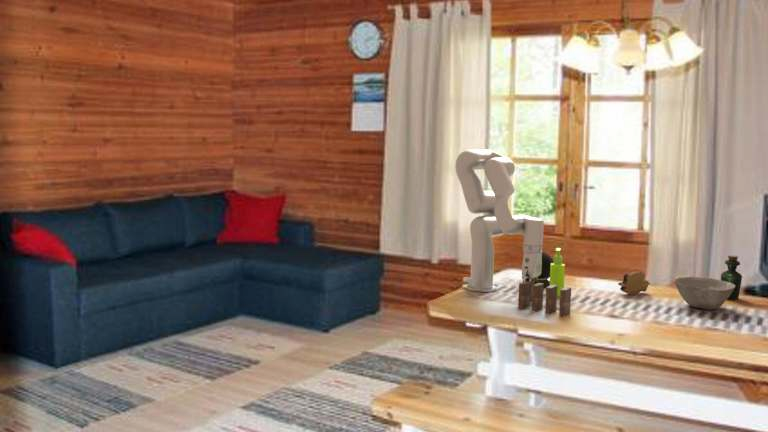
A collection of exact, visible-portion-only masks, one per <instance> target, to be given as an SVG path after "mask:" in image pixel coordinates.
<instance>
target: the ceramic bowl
mask: <svg viewBox="0 0 768 432" xmlns="http://www.w3.org/2000/svg"><path fill="white" fill-rule="evenodd" d="M673 282H674V285H675V287H676V289H677V291H678V293H679V295H680V296H681V298H682V300H684V301H685V302H686V304H687V305H689V306H691V307H692V308H698V309H702V310H706V311H708V310H709V311H712V310H713V311H714V310H717V309H720V308H721V307H722V306H723V305H724V304H725V302H726V301H727V300H728V298H729V296H730V295H731V293H732V291H733V290H734V288H735V285H734V284H732V283H729V282H726V281H721V279H716V278H712V277H711V278H710V277H708V278H707V277H698V276H682V277H678V278H674V279H673Z"/></svg>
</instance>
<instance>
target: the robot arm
mask: <svg viewBox="0 0 768 432" xmlns="http://www.w3.org/2000/svg"><path fill="white" fill-rule="evenodd" d="M515 167H516V166H515V164H514V161H512V160H511V158H509V157H507V156H504V155H502V154H500V153H498V152H495V151H493V150H491V149H467V150H464V151H462V152H461V153H460V154H459V155H458V156H457V158H456V161H455V173H456V176H457V178H458V181H459V184H460V186H461V189H462V193H463V196H464V200H465V203H466V208H467V209H468V211H469V212H470V213H472V214H475V215H477V214H479V216H476V217H475V218H474V219H473V220H472V221H471V222H470V225H469V233H470V239H471V240H470V241H471V257H470V258H471V259H470V260H471V261H470V262H471V263H470V277H466V276H465V277H464V276H463V278H462V283H467V285H466V289H467V290H469V291H471V292H478V293H491V292H496V291H497V286H496V285H494V266H495V263H494V262H495V246H494V242H493V240H492V238H495V237H501V236H503V235H504V234H506V235H509V236H510V235H511V236H512V235H518V234H523V243H522V244H523V245H522V253H523V258H522V266H521V280H522V282H524V281H530V282H531V278H535V277H536V281H535V284H537V281H538V276H539V275H541V272H542V254H541V253H542V252H543V244H544V243H543V239H544V227H545V221H544V219H542V218H540V217H533V216H530V215H526V214H515V215H512V214H511V211H510V208H509V198H510V196H512V195H513V194H514V193H515V190H516V189H515V186H514V184H513V183H512V180H511V178H510V177H512V176H513V175H514V173H515V171H516V170H515ZM475 170H483V171H484V174H485V176H486V179H487V181H488V183H489V185H490V187H491V190H484V187H483V185H482V181H481V179H480V177H479V176H478V174H477V173H476V172H475ZM480 214H484V215H480ZM527 275H529V277H527ZM526 278H528V279H529V280H528V279H526ZM530 291H531V285H530Z"/></svg>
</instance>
